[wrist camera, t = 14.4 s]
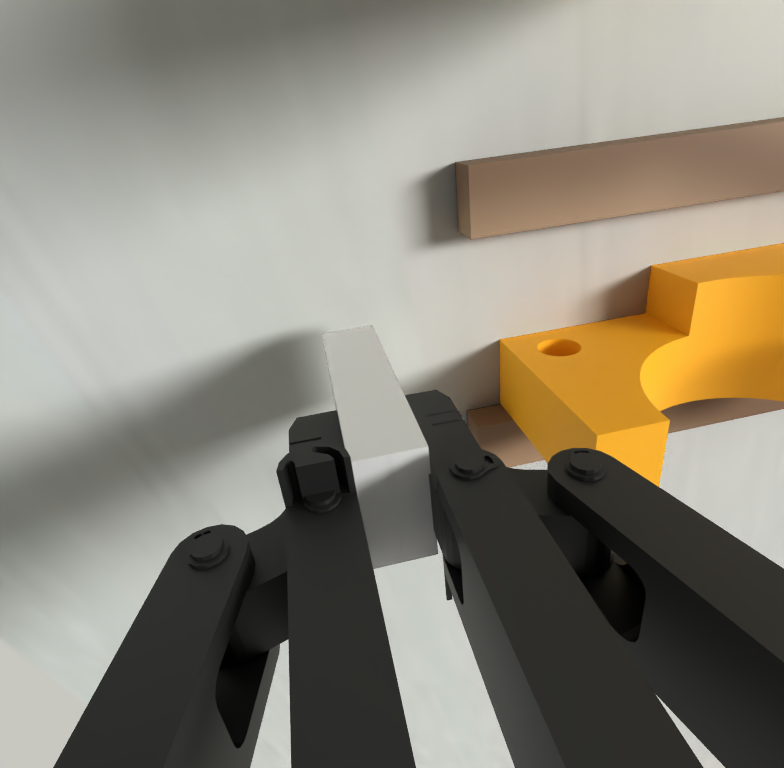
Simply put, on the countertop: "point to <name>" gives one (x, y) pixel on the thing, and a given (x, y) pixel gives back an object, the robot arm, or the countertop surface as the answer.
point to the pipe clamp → (652, 359)
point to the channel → (612, 199)
